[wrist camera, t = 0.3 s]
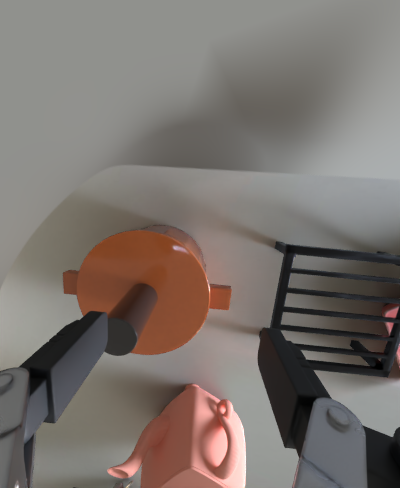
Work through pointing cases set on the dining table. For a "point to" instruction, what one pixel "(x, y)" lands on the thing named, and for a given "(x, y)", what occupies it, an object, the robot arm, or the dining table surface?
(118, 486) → the artificial flower
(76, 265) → the dining table surface
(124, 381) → the dining table surface
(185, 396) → the teapot
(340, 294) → the rack
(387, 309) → the plant saucer
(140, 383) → the dining table surface
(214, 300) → the pot
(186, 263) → the lid
